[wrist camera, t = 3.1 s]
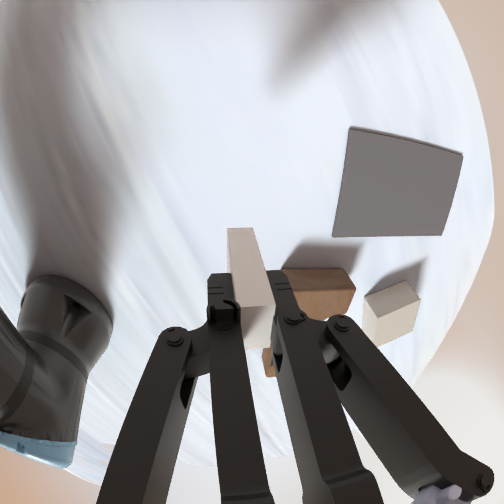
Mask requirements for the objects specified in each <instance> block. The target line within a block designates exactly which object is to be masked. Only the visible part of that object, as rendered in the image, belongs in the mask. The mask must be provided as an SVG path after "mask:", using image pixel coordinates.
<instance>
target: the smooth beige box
mask: <svg viewBox="0 0 504 504" xmlns="http://www.w3.org/2000/svg"><path fill="white" fill-rule="evenodd" d="M420 301H421V299H420V298H419V296H418V295H417V294H416V293H415V291H414V290H413V289H412V288H411V287H410V285H409V284H408V283H407V282H406V281H403V282H400V283H398V284H395V285H393V286H390V287H388V288H385V289H383V290H380V291H378V292H375V293H372V294H370V295H367V296H364V301H363V320H362V330H363V331H364V333H365V334H366V335H367V336H368V338H369V339H370V340H371V341H372V342H373V343H374V345H375V346H376V347H379V346H381V345H383V344H386V343H388V342H390V341H392V340H394V339H397V338H399V337H401V336H403V335H405V334H407V333H409V332H412V331H413V327H414V324H415V320H416V316H417V313H418V309H419V305H420Z"/></svg>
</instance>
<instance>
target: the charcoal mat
mask: <svg viewBox="0 0 504 504" xmlns="http://www.w3.org/2000/svg"><path fill="white" fill-rule="evenodd" d="M462 161H463V156H461V155H458V154H455V153H452V152H449V151H445V150H442V149H438V148H435V147H431V146H427V145H424V144H420V143H416V142H412V141H408V140H403V139H399V138H394V137H390V136H385V135H380V134H374V133H369V132H363V131H357V130H351V129H349V132H348V140H347V148H346V155H345V162H344V169H343V175H342V182H341V188H340V194H339V200H338V205H337V211H336V216H335V221H334V227H333V232H332V237H377V236H442V233H443V230H444V227H445V224H446V221H447V218H448V215H449V212H450V208H451V205H452V202H453V198H454V194H455V191H456V187H457V183H458V179H459V175H460V170H461V166H462Z"/></svg>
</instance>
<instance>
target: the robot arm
mask: <svg viewBox="0 0 504 504" xmlns="http://www.w3.org/2000/svg"><path fill="white" fill-rule="evenodd" d="M227 269H228V273H216V274H211V275H210V277H209V279H208V280H207V283H208V306H207V321H206V323H205V324H204V325H203V326H201V327H200V328H198V329H195V330H192V331H187V330H186V329H184V328H181V327H170V328H167V329H165V330H164V331H162V333H161V334H160V335H159V337H158V339H157V342H156V344H155V346H154V349H153V351H152V353H151V356H150V358H149V360H148V363H147V365H146V368H145V370H144V372H143V375H142V377H141V380H140V382H139V385H138V387H137V389H136V392H135V394H134V397H133V400H132V402H131V405H130V407H129V410H128V412H127V415H126V418H125V420H124V423H123V426H122V428H121V431H120V434H119V436H118V439H117V442H116V445H115V447H114V450H113V453H112V456H111V459H110V462H109V465H108V468H107V471H106V474H105V477H104V480H103V483H102V486H101V489H100V492H99V496H98V499H97V502H96V504H166V499H167V495H168V491H169V487H170V483H171V479H172V475H173V471H174V466H175V463H176V459H177V455H178V451H179V447H180V443H181V439H182V435H183V432H184V428H185V424H186V420H187V416H188V413H189V409H190V405H191V401H192V398H193V394H194V390H195V386H196V383H197V379H198V376H201V375H204V374H207V373H210V383H211V398H212V412H213V425H214V436H215V447H216V457H217V467H218V476H219V484H220V492H221V504H275V503H274V499H273V496H272V494H271V492H270V489H269V485H268V480H267V475H266V469H265V464H264V459H263V453H262V448H261V442H260V437H259V431H258V426H257V420H256V414H255V409H254V403H253V397H252V391H251V385H250V379H249V373H248V367H247V361H246V354H245V350H248V349H260V348H270V343H271V344H272V348H273V350H272V356H271V362H270V367H272V366H273V364H274V369H275V373H276V377H277V382H278V386H279V390H280V395H281V399H282V403H283V407H284V412H285V416H286V420H287V425H288V429H289V433H290V437H291V442H292V446H293V450H294V454H295V459H296V463H297V467H298V471H299V475H300V479H301V484H302V489H303V496H302V500H303V504H384V503H383V499H382V496H381V493H380V490H379V487H378V484H377V481H376V479H375V477H374V475H373V474H372V472H371V471H369V470H367V469H365V468H364V466H363V465H362V462H361V459H360V456H359V453H358V451H357V448H356V445H355V442H354V439H353V436H352V433H351V430H350V427H349V425H348V422H347V419H346V416H345V413H344V410H343V408H342V405H343V407H344V408H345V410H346V411H347V412H348V414H349V415H350V417H351V418H352V420H353V421H354V423H355V424H356V426H357V427H358V429H359V430H360V431H361V433H362V434H363V436H364V437H365V439H366V440H367V442H368V443H369V444H370V446H371V447H372V449H373V450H374V452H375V453H376V455H377V456H378V458H379V459H380V460H381V462H382V463H383V465H384V466H385V468H386V469H387V471H388V472H389V473H390V475H391V476H392V478H393V479H394V480H395V482H396V483H397V484H398V486H399V487H400V488H401V489H402V490H403V491H404V492H405V493H406V494H408V495H409V496H410V497H411V498H413V499H414V501H413V502H412V503H411V504H470V503H471V502H472V500H475V499H477V498H479V497H482V496H484V495H486V494H487V493H488V492H489V491H490V490H491V488H492V486H493V482H494V473H493V471H492V469H491V468H490V467H488V466H487V465H485V464H483V463H481V462H479V461H478V460H476V459H474V458H473V457H471V456H469V455H468V454H466V453H464V452H462V451H461V450H460V449H459V448H458V447H457V446H456V444H455V443H454V442H453V440H452V439H451V438H450V436H449V435H448V434H447V432H446V431H445V430H444V429H443V427H442V426H441V425H440V424H439V422H438V421H437V420H436V418H435V417H434V416H433V415H432V414H431V412H430V411H429V410H428V409H427V407H426V406H425V405H424V403H423V402H422V401H421V400H420V398H419V397H418V396H417V395H416V394H415V392H414V391H413V390H412V389H411V387H410V386H409V385H408V384H407V383H406V381H405V380H404V379H403V378H402V377H401V375H400V374H399V373H398V372H397V371H396V369H395V368H394V367H393V366H392V365H391V363H390V362H389V361H388V360H387V359H386V357H385V356H384V355H383V354H382V353H381V352H380V350H379V349H378V348H377V347H376V346H375V345H374V343H373V342H372V341H371V340H370V339H369V338H368V336H367V335H366V334H365V333H364V332H363V331H362V330H361V328H360V327H359V326H358V325H357V324H356V323H355V321H354V320H352V319H351V318H350V317H348V316H346V315H341V314H337V315H333V316H331V317H329V319H328V321H320V320H314V319H311V318H309V317H308V316H307V314H306V313H305V312H303V311H302V310H300V308H299V306H298V303H297V300H296V298H295V295H294V293H293V290H292V287H291V285H290V282H289V280H288V277H287V275H286V274H285V273H283V272H282V271H281V270H270V271H266V270H265V267H264V263H263V260H262V257H261V253H260V250H259V247H258V243H257V240H256V237H255V233H254V230H253V228H227ZM111 334H112V325H111V321H110V318H109V316H108V314H107V312H106V310H105V309H104V307H103V306H102V304H101V303H100V302H99V301H98V300H97V299H96V298H95V297H94V296H93V295H92V294H91V293H90V292H88V291H87V290H86V289H84V288H83V287H81V286H80V285H78V284H76V283H74V282H72V281H70V280H68V279H65V278H62V277H57V276H41V277H38V278H36V279H35V280H33V281H32V282H31V283H30V285H29V286H28V288H27V289H26V291H25V293H24V294H23V297H22V300H21V311H20V314H19V318H18V324H17V329H16V328H15V327H14V325H13V324H12V323H11V321H10V320H9V318H8V317H7V316H6V314H5V313H4V311H3V310H2V308H1V307H0V446H1V447H4V448H5V449H8V450H10V451H12V452H14V453H17V454H19V455H21V456H24V457H27V458H29V459H32V460H35V461H37V462H40V463H43V464H46V465H50V466H53V467H57V468H66V467H68V466H69V465H71V463H72V460H73V454H74V449H75V446H76V445H77V435H78V428H79V421H80V415H81V409H82V403H83V398H84V393H85V388H86V383H87V379H88V375H89V373H90V371H91V370H92V368H93V367H94V366H95V364H96V363H97V361H98V360H99V358H100V357H101V355H102V354H103V353H104V352H105V351H106V349H107V347H108V345H109V341H110V337H111ZM341 404H342V405H341Z"/></svg>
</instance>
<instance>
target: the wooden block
mask: <svg viewBox="0 0 504 504" xmlns="http://www.w3.org/2000/svg"><path fill="white" fill-rule="evenodd" d="M281 271H282V272H283V273H285V274H286V275H287V277H288V280H289V282H290V285H291V287H292V290H293V293H294V295H295V298H296V300H297V303H298V306H299V308H300V310H302V311H303V312H305V313H306V314H307V316H308V317H309V318H311V319H314V320H320V321H323V320H325V319H326V318H328V317H331V316H333V315H337V314H341V315H342V314H345V313H346V312H347V310H348V308H349V305H350V303H351V301H352V298H353V296H354V293H355V291H356V287H355V285H354V284H353V282H352V281H351V279H350V278H349V276H348V275H347V273H346V272H345V270H344V269H342V268H335V269H281ZM272 350H273V348H272V344H271V343H270V348H264V349H263V353H262V360H263V365H264V369H265V374H266V376H267V377H276V373H275V369H274V364H273V366H272V367H270V362H271V356H272Z"/></svg>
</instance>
